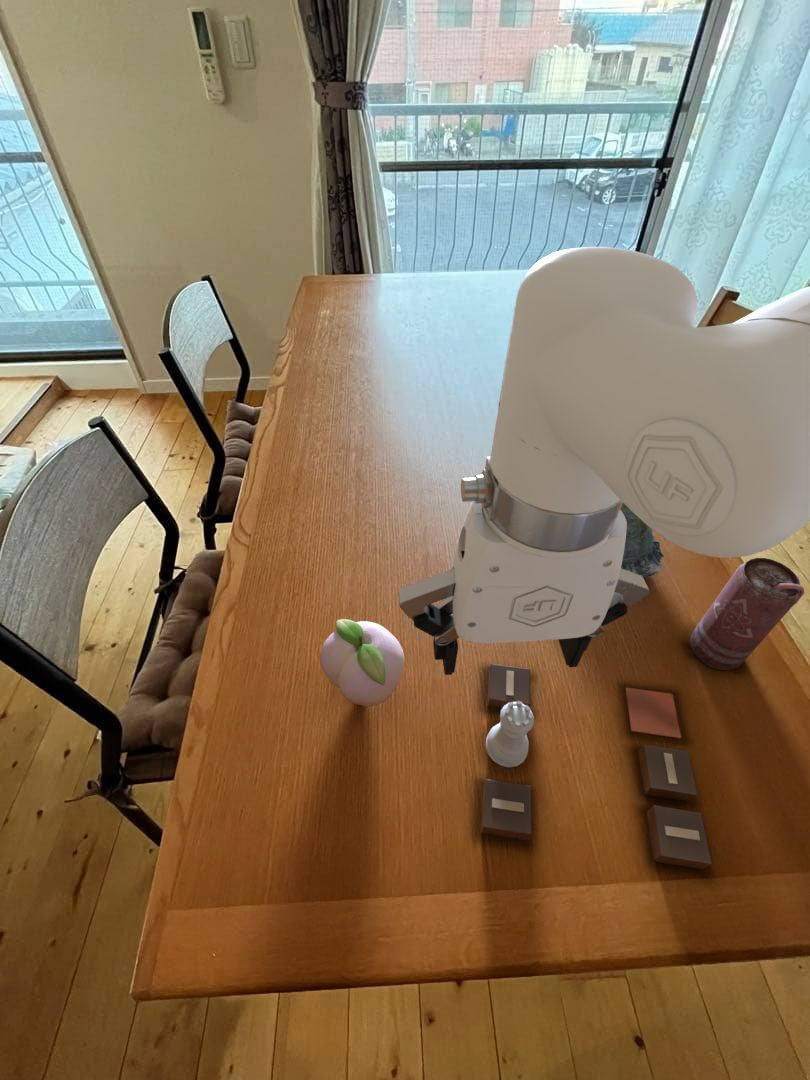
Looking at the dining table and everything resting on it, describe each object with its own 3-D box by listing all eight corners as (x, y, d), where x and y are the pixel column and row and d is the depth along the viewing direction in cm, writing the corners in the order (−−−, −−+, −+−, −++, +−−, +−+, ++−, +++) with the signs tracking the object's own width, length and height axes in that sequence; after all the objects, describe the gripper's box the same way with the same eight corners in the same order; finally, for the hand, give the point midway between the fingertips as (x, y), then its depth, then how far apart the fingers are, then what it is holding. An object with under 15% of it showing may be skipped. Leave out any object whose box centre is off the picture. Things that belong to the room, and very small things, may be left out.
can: (746, 679, 64) (812, 607, 54) (688, 663, 66) (743, 590, 56) (742, 638, 68) (803, 563, 58) (687, 623, 70) (738, 548, 60)
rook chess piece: (514, 721, 60) (527, 685, 55) (535, 760, 58) (551, 726, 52) (477, 735, 59) (487, 700, 53) (497, 775, 56) (509, 742, 51)
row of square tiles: (707, 870, 51) (717, 864, 49) (649, 860, 51) (657, 854, 50) (671, 694, 63) (679, 685, 61) (625, 688, 63) (631, 678, 62)
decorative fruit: (420, 689, 63) (424, 640, 56) (365, 737, 59) (361, 691, 52) (366, 637, 67) (363, 586, 60) (312, 679, 64) (302, 629, 56)
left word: (527, 841, 52) (531, 834, 51) (480, 833, 53) (483, 826, 51) (526, 677, 64) (530, 668, 63) (488, 672, 64) (491, 662, 63)
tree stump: (528, 487, 88) (585, 396, 74) (642, 552, 85) (722, 469, 72) (486, 559, 76) (545, 465, 62) (617, 637, 73) (707, 557, 60)
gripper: (405, 548, 28) (401, 705, 41) (729, 533, 29) (629, 691, 42) (395, 457, 34) (394, 622, 46) (671, 447, 35) (598, 610, 47)
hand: (506, 654), depth 44 cm, fingers open, 9 cm apart
